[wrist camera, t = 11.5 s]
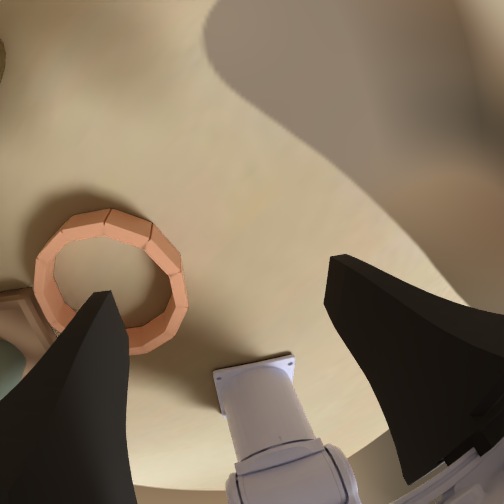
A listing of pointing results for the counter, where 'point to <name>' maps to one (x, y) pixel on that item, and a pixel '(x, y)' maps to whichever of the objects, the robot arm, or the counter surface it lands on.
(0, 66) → the olive pepper mill
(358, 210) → the counter surface
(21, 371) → the gray-green peg
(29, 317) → the walnut tray
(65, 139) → the counter surface
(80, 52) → the counter surface
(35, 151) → the counter surface
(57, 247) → the faceted terracotta ring
